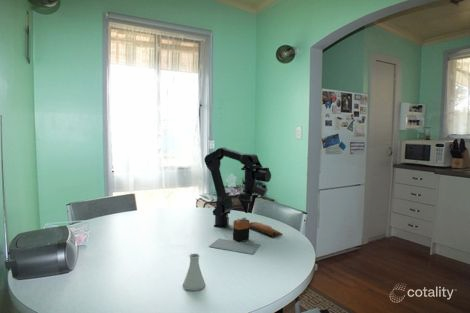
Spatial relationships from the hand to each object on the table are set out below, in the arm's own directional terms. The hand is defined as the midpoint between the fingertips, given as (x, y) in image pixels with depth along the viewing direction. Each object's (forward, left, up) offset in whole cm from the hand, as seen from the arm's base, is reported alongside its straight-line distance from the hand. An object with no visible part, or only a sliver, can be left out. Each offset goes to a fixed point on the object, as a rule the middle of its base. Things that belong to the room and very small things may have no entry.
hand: (249, 210), depth 144 cm
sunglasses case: (+7, +5, -12) cm, 15 cm away
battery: (0, -12, -11) cm, 16 cm away
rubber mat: (0, -20, -11) cm, 23 cm away
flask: (0, -56, -11) cm, 57 cm away
